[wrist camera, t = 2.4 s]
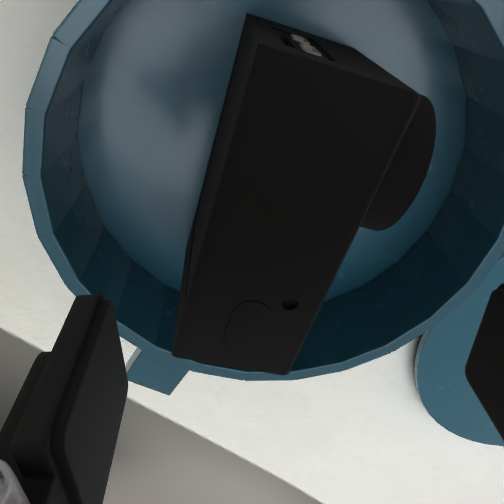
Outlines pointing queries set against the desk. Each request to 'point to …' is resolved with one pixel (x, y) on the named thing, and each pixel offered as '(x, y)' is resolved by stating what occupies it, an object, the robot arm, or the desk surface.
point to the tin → (199, 149)
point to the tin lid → (457, 367)
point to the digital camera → (293, 191)
